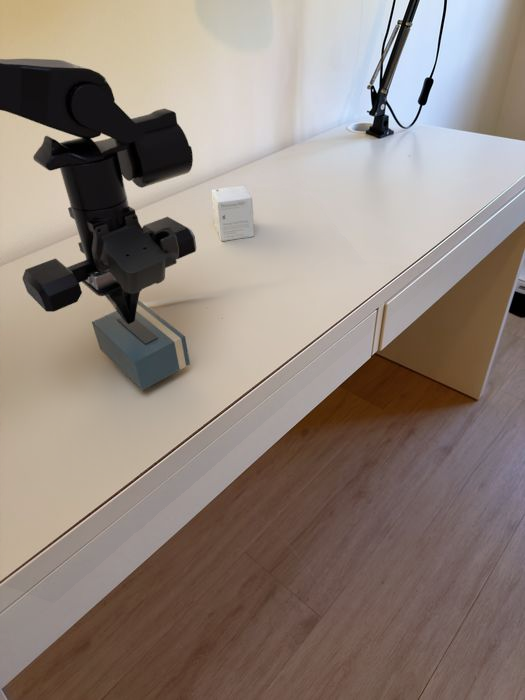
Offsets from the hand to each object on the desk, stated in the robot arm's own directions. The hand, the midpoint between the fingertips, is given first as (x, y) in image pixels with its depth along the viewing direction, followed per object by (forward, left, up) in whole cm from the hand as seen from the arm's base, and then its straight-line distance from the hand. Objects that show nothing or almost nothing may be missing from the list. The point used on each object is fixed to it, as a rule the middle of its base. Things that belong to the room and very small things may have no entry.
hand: (129, 321), depth 64 cm
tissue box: (0, +1, -4) cm, 4 cm away
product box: (-1, +37, -6) cm, 37 cm away
